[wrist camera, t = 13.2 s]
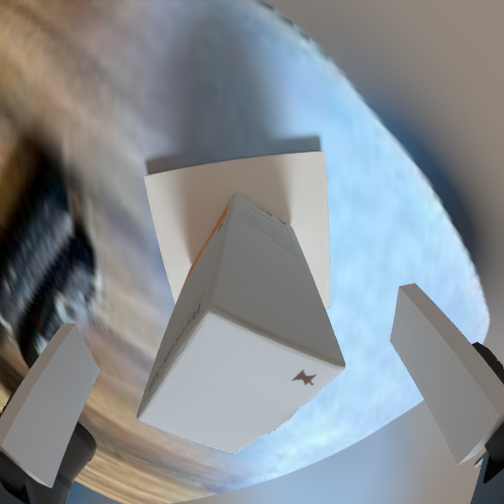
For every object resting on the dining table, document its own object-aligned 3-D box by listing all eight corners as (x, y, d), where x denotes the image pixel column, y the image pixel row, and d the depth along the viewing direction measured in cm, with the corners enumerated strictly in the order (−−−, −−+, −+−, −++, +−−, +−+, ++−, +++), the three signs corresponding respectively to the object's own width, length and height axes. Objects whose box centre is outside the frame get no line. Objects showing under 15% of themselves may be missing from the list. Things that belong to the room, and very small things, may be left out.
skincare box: (234, 189, 17) (209, 300, 6) (293, 225, 18) (356, 367, 7) (187, 267, 19) (131, 421, 8) (242, 297, 20) (239, 458, 9)
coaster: (183, 318, 21) (181, 324, 21) (147, 174, 17) (143, 176, 16) (327, 301, 21) (329, 307, 20) (321, 150, 17) (324, 151, 16)
